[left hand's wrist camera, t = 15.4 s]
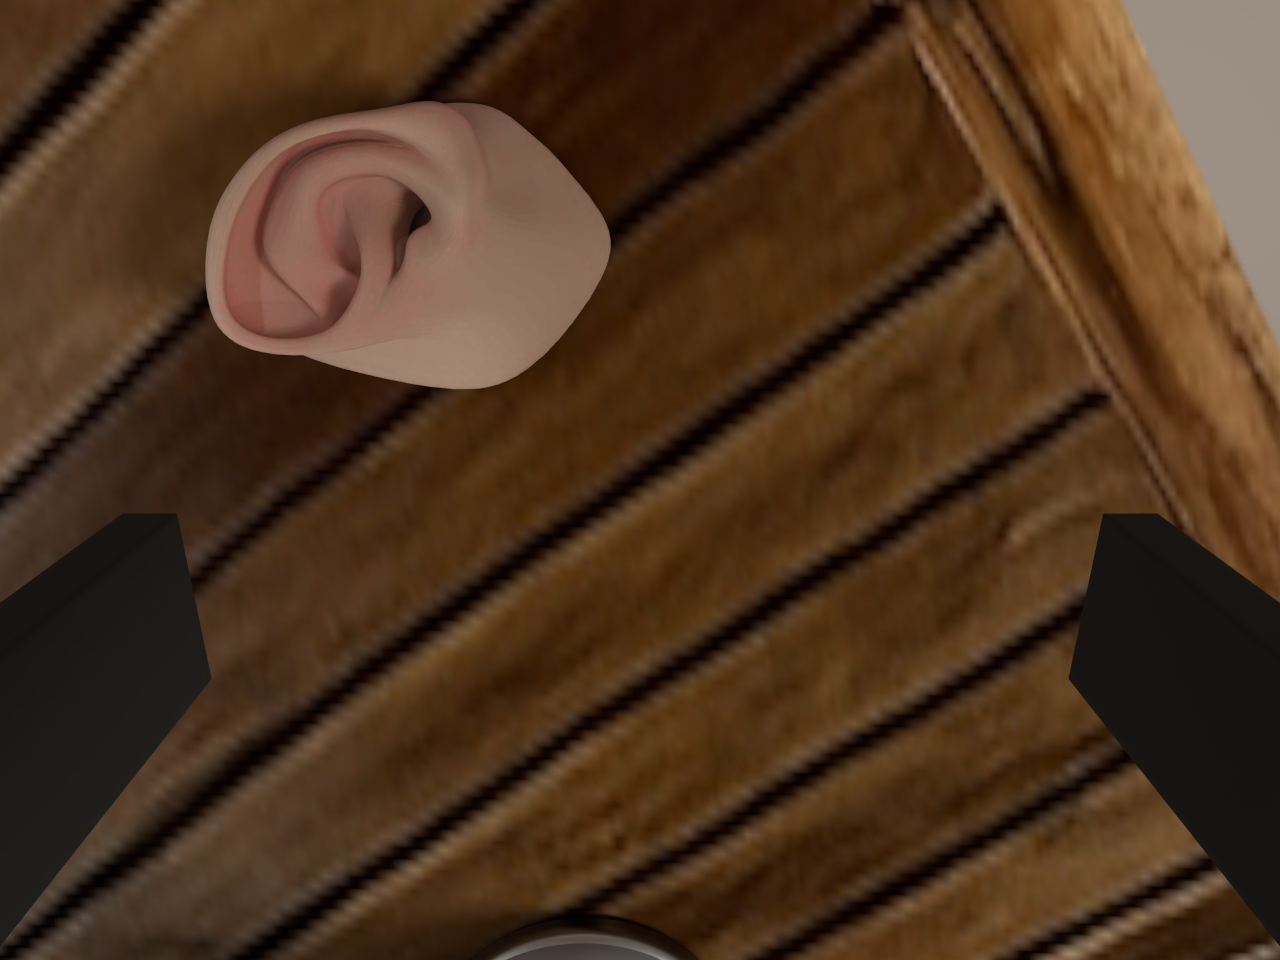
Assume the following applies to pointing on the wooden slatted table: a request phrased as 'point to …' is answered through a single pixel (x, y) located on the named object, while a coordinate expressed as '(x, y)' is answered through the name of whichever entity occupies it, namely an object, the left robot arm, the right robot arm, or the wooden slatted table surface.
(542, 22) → the wooden slatted table surface
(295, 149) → the anatomical model
